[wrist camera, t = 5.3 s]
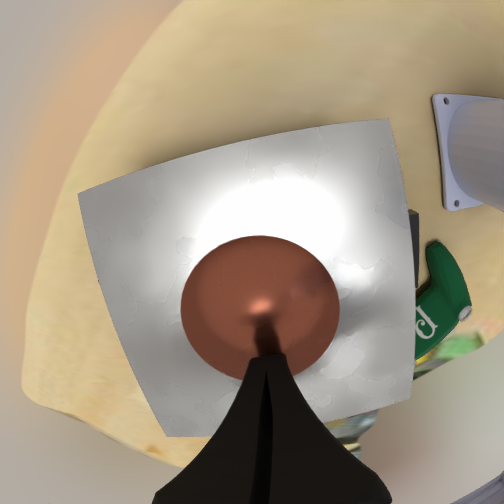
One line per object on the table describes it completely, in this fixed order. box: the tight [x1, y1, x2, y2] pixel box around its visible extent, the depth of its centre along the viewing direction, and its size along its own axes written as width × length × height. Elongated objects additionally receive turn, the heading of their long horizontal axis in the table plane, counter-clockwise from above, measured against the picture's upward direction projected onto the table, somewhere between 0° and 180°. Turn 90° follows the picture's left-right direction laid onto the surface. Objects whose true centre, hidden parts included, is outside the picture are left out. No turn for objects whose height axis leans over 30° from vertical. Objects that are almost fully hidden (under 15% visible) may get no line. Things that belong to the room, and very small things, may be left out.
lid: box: [78, 118, 416, 437], centre depth 11 cm, size 13×13×1 cm
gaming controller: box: [414, 241, 472, 367], centre depth 18 cm, size 9×4×6 cm
